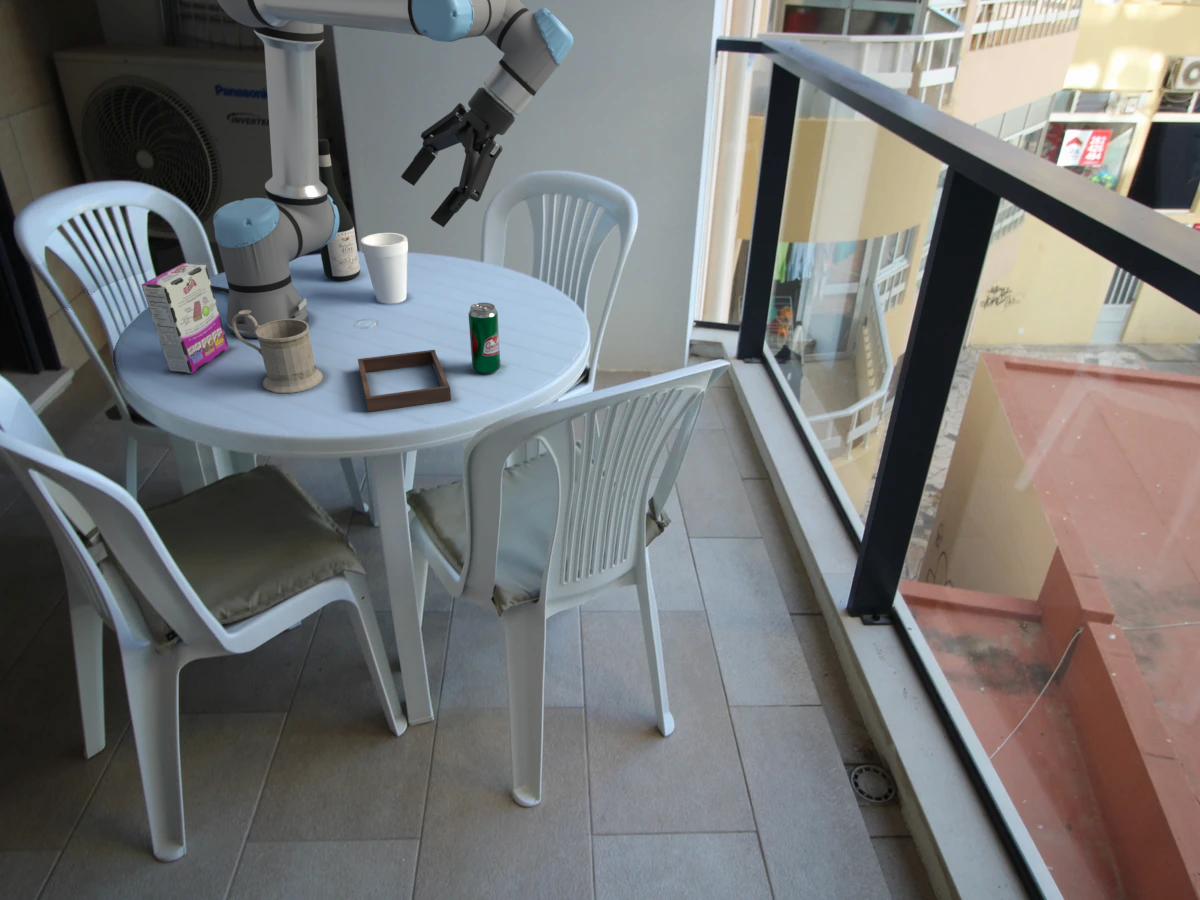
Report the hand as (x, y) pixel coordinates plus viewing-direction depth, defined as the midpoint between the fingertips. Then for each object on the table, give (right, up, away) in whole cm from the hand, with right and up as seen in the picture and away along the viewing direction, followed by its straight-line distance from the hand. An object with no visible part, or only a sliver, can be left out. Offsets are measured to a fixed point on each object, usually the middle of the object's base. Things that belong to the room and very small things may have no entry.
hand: (421, 201), depth 134 cm
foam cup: (-15, -10, +35) cm, 39 cm away
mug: (-25, -31, +2) cm, 40 cm away
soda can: (+10, -28, +7) cm, 31 cm away
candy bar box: (-42, -27, +8) cm, 51 cm away
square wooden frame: (-3, -32, +1) cm, 32 cm away
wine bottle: (-29, -3, +46) cm, 54 cm away
